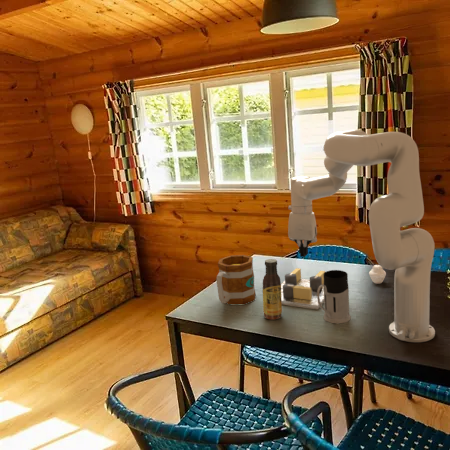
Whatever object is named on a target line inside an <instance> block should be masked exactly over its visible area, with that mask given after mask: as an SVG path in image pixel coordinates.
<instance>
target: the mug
mask: <svg viewBox="0 0 450 450" xmlns="http://www.w3.org/2000/svg"><path fill="white" fill-rule="evenodd" d="M253 260H254V257H252V256H249V255H245V254H238V255H236V254H231V255H228V256H224V257H222V258H219V259H218V262H217V267H218V271H219V272H218V274H217V275H216V286H217V293H218V300H219V302H220V303H222V304H226V303H228V304H245V305H247V304H249V303H248V302H250V303H252V302H254V301H253V300H255V301H256V297H255V296H256V289H255V273H254V266H253V265H254V264H253V262H254V261H253ZM251 301H252V302H251ZM246 303H247V304H246ZM228 304H227V305H228Z"/></svg>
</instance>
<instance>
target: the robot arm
mask: <svg viewBox="0 0 450 450" xmlns="http://www.w3.org/2000/svg"><path fill="white" fill-rule="evenodd" d="M323 151H324V154H325V157H324V160H323V164H324V167H325V170H326V171H327V172H328V174H327V173H326V175H322V176H315V177H312V178H311V177H310V176H308V175H297V176H293V177H292V178H291V179H290V199H291V200H290V203H291V204H290V205H288V210H291V212H289V217H288V223H287V224H288V225H287V228H288V229H287V230H288V232H287V235H288V238H289V239H288V240H289V241H292V242H295V244H296V245H297V246H298V253H299V257H301V258H305V257H306V256H308V254H309V245H310V244H312V243H316V242H317V241H318V239H317V235H318V229H317V222H316V220H317V219H316V216H315V212H313V201H314V200H318V199H321V198H326V197H330V196H333V195H335V194H336V193H337V192H338V191H340V189H342V188H343V186H345V184H346V182H347V179H348V172H349V171H350V170H351V169H352V168H353V166H357V167H368V166H374V165H379V164H384V163H390V165H389V168H388V171H387V178H386V179H387V180H386V181H387V187H388V189H387V190H388V194H385V195H381V196H379V197H377V198H375V199H374V200H373V201H372V203H371V204H370V206H369V210H368V221H369V229H370V238H371V243H372V249H373V254H374V258H375V260H376V262H377V263H378V265H380V266H381V267H382V269H385V270H390V271H391V270H394V271H395V272H394V281H393V282H394V283H393V285H394V286H393V288H394V290H393V293H394V297H393V299H394V300H393V301H394V304H393V305H394V306H393V307H394V309H393V310H394V311H393V313H394V315H393V316H394V319H393V320H394V321H393V322H391V323H390V324H389V325H388V331H389V334H390V335H391V336H392V337H394V338H395V339H397V340H399V341H403V342H408V343H425V342H429V341H431V340H432V339H434V338H435V336H436V330H435V328H434V326H432V325H431V324H430V303H431V302H430V300H431V299H430V297H431V296H430V293H431V291H430V290H431V273H432V271H431V269H432V264H433V263H432V262H433V259H434V255H435V241H434V238H433V236H432V235H431V233H430V232H429V231H427V230H425V229H423V228H420V227H412V228H408V229H404V230H401V228H402V227H406V226H410V225H413V224H415V223H417V222H420V221H421V220H422V219H423V217H424V214H425V206H424V205H425V204H424V198H423V197H424V196H423V189H422V182H421V176H420V175H421V174H420V157H419V156H420V154H419V148H418V145H417V143H416V141H415V140H414V139H413V138H412V137H411V136H410V135H409V134H406V133H405V132H401V131H386V132H379V133H373V134H368V133H367V132H365V131H363V130H361V129H349V130H342V131H335V132H333V133H331V134H330V135H328V136H327V137H326V139H325V142H324V144H323Z"/></svg>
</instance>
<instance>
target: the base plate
mask: <svg viewBox="0 0 450 450" xmlns="http://www.w3.org/2000/svg"><path fill="white" fill-rule="evenodd" d="M284 284H285V280H283V282H282V283H281V298H282V305H284V306H291V307H297V308H302V309H303V308H304V309H312V310H316V311H317V310H319V309H321V308H320V306H319V303H318V299H317V291H315V290H311V291H312V299H311V300H306V299H298V298H291V299H287V298H284V297H283V285H284ZM322 285H324V283H323V284H322ZM296 286H302V287H310V279H307V278H306V279H305V278H301V279H300V280H299V281H298V282H297V285H296ZM319 298H320V303H321V305H322V306H323V304H324V286H322V289H321V290H320V292H319Z"/></svg>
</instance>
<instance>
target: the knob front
mask: <svg viewBox="0 0 450 450" xmlns="http://www.w3.org/2000/svg"><path fill="white" fill-rule="evenodd" d="M283 297H284V298H287V299H291V298H298V299H306V300H311V299H312V291H311V288H310V287H302V286H295V285H294V284H284V285H283Z"/></svg>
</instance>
